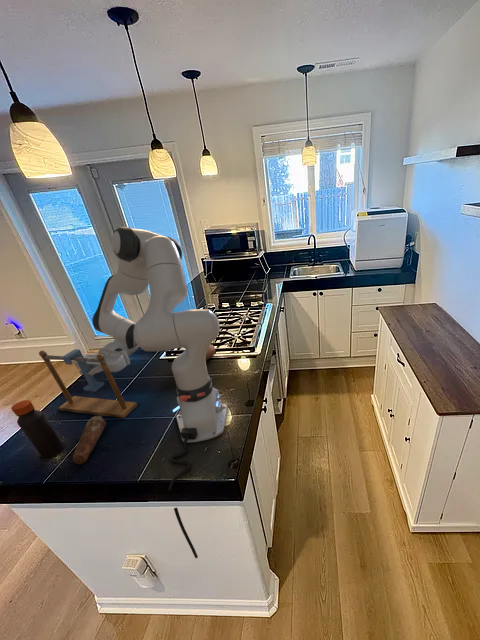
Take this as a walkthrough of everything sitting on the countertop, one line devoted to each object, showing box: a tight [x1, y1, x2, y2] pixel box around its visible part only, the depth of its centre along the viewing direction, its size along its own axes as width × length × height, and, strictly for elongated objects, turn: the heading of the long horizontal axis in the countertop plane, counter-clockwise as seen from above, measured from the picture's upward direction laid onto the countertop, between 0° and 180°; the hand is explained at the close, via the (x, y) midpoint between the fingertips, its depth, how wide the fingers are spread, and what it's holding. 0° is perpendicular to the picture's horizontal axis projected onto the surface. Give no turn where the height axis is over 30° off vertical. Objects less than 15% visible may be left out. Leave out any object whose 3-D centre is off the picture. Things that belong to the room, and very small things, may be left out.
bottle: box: [10, 399, 65, 459], centre depth 101 cm, size 7×7×20 cm
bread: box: [72, 415, 107, 465], centre depth 106 cm, size 6×19×6 cm, turn 7°
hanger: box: [62, 348, 105, 393], centre depth 118 cm, size 8×5×16 cm
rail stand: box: [38, 350, 138, 419], centre depth 119 cm, size 31×8×25 cm, turn 75°
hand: (85, 373), depth 118 cm, fingers closed on hanger, 2 cm apart
